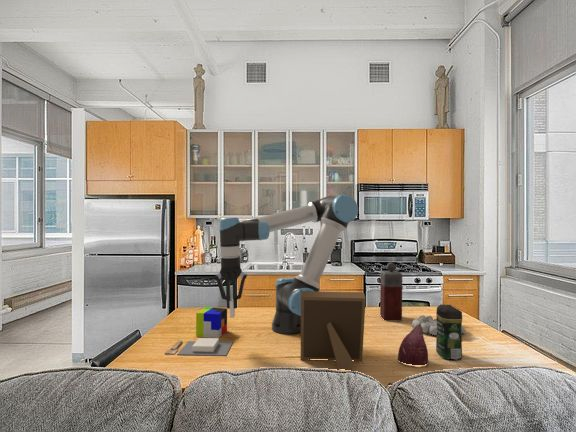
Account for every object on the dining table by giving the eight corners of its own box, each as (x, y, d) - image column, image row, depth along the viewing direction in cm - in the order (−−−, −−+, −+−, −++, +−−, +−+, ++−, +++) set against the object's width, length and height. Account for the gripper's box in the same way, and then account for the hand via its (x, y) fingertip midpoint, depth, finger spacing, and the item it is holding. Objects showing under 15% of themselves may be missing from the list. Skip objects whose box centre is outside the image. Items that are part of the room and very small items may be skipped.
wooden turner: (184, 343, 149) (184, 340, 149) (174, 355, 136) (174, 352, 136) (175, 342, 149) (175, 340, 149) (164, 354, 136) (164, 352, 136)
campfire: (422, 339, 155) (423, 325, 155) (405, 325, 176) (405, 312, 176) (474, 340, 156) (475, 326, 156) (451, 325, 177) (451, 313, 177)
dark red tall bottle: (396, 314, 193) (397, 261, 193) (402, 321, 182) (402, 264, 181) (379, 314, 193) (379, 260, 193) (383, 320, 182) (384, 263, 182)
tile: (218, 338, 147) (198, 338, 147) (213, 346, 138) (192, 346, 138) (218, 343, 147) (198, 343, 147) (213, 352, 138) (192, 351, 138)
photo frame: (300, 355, 136) (301, 287, 136) (360, 357, 135) (361, 288, 135) (300, 373, 121) (300, 297, 121) (367, 375, 120) (368, 298, 120)
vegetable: (420, 365, 136) (428, 324, 138) (431, 373, 126) (440, 329, 128) (392, 358, 136) (401, 317, 138) (401, 365, 126) (411, 321, 128)
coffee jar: (433, 351, 142) (433, 302, 142) (453, 351, 142) (454, 303, 142) (442, 361, 132) (443, 309, 132) (465, 361, 132) (465, 309, 132)
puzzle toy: (218, 338, 155) (218, 314, 155) (196, 336, 157) (196, 312, 157) (227, 330, 164) (227, 308, 164) (205, 329, 166) (206, 307, 166)
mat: (232, 342, 149) (232, 341, 149) (226, 355, 135) (226, 355, 135) (188, 341, 150) (188, 341, 150) (177, 355, 136) (177, 354, 136)
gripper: (248, 255, 149) (249, 313, 150) (215, 256, 149) (217, 314, 150) (245, 257, 142) (247, 319, 142) (211, 258, 142) (213, 320, 142)
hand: (232, 316), depth 146 cm, fingers closed
